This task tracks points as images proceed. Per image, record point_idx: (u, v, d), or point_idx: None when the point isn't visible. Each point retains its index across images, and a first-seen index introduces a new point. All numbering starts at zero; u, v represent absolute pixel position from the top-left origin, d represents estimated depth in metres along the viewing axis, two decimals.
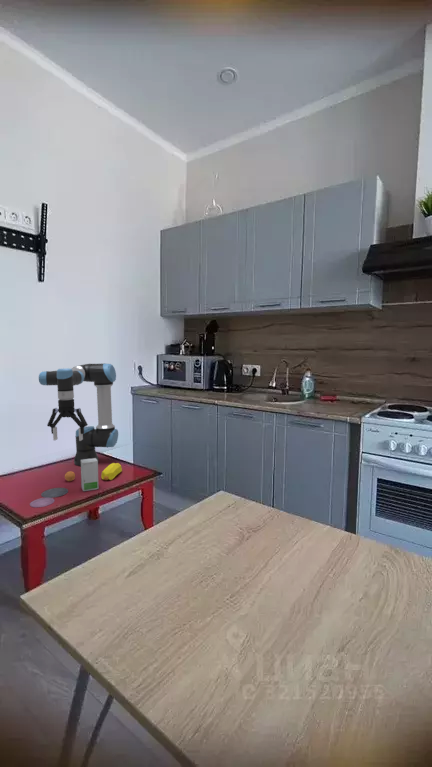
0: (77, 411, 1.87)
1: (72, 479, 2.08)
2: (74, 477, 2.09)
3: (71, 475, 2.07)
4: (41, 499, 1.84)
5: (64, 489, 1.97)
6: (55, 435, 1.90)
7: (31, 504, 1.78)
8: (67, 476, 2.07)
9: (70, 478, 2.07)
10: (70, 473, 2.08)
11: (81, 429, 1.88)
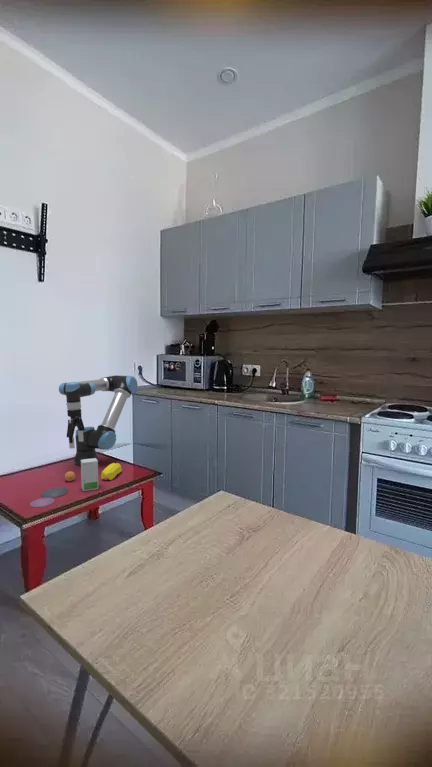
0: None
1: (72, 479, 2.08)
2: (74, 477, 2.09)
3: (71, 475, 2.07)
4: (41, 499, 1.84)
5: (64, 489, 1.97)
6: (79, 437, 2.22)
7: (31, 504, 1.78)
8: (67, 476, 2.07)
9: (70, 478, 2.07)
10: (70, 473, 2.08)
11: None
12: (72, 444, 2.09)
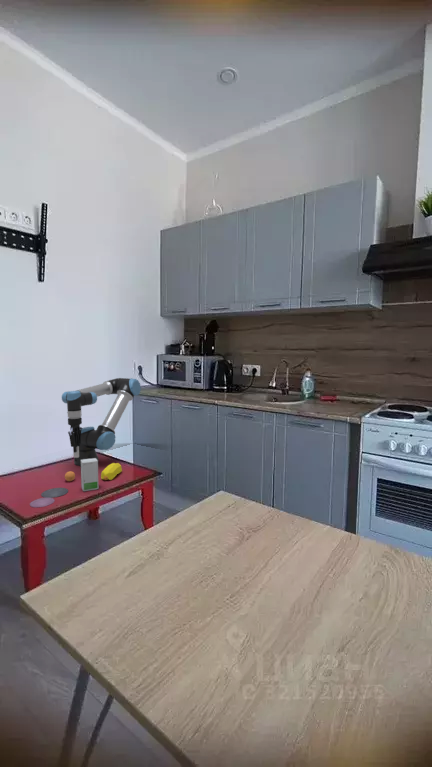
0: None
1: (72, 479, 2.08)
2: (74, 477, 2.09)
3: (71, 475, 2.07)
4: (41, 499, 1.84)
5: (64, 489, 1.97)
6: None
7: (31, 504, 1.78)
8: (67, 476, 2.07)
9: (70, 478, 2.07)
10: (70, 473, 2.08)
11: None
12: (76, 453, 2.17)
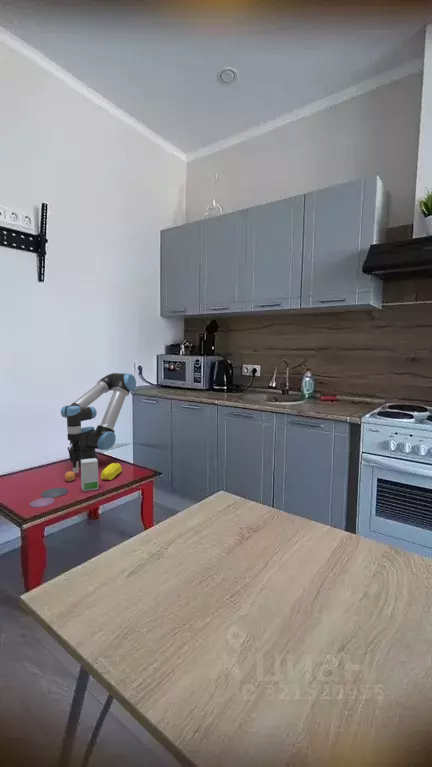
0: None
1: (72, 479, 2.08)
2: (74, 477, 2.09)
3: (71, 475, 2.07)
4: (41, 499, 1.84)
5: (64, 489, 1.97)
6: None
7: (31, 504, 1.78)
8: (67, 476, 2.07)
9: (70, 478, 2.07)
10: (70, 473, 2.08)
11: None
12: (75, 469, 2.16)
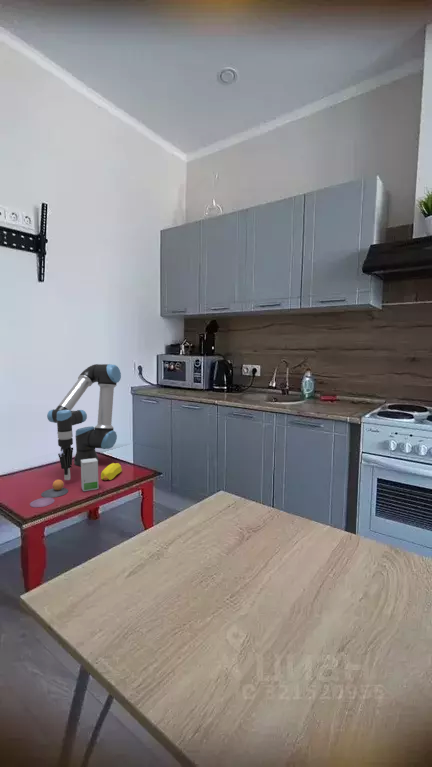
0: None
1: (60, 483, 1.95)
2: (62, 485, 1.96)
3: (62, 481, 1.97)
4: (41, 499, 1.84)
5: (64, 489, 1.97)
6: None
7: (31, 504, 1.78)
8: None
9: (60, 481, 1.96)
10: None
11: None
12: (67, 476, 2.05)
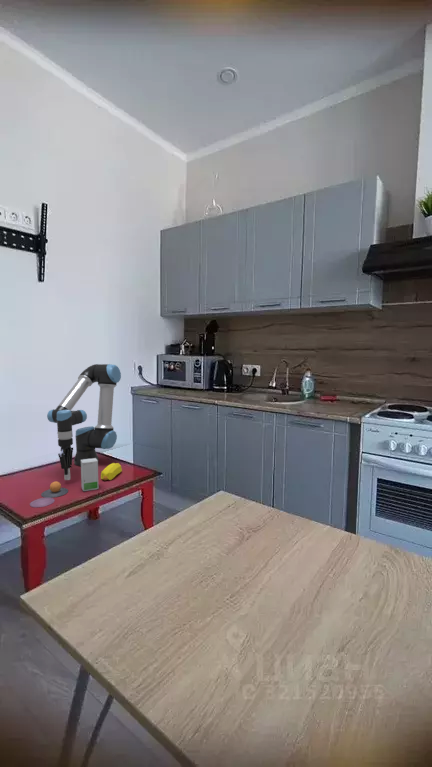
0: None
1: (57, 489, 1.92)
2: (59, 488, 1.93)
3: (57, 484, 1.93)
4: (41, 499, 1.84)
5: (64, 489, 1.97)
6: None
7: (31, 504, 1.78)
8: (53, 484, 1.92)
9: (55, 486, 1.91)
10: (57, 482, 1.94)
11: None
12: (67, 476, 2.05)
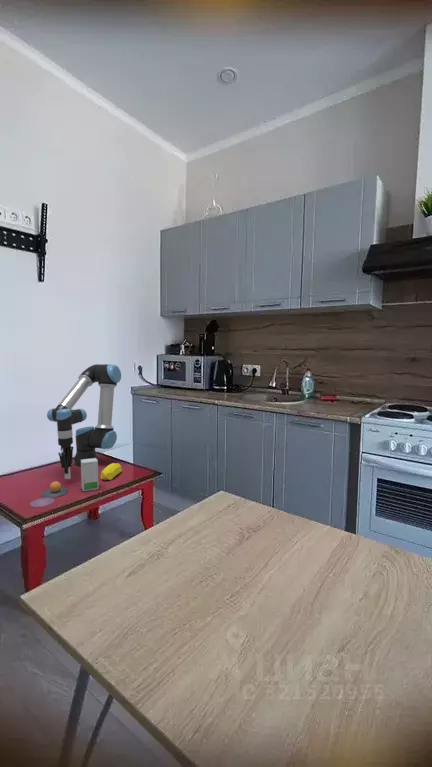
0: None
1: (57, 489, 1.92)
2: (59, 488, 1.93)
3: (57, 484, 1.93)
4: (41, 499, 1.84)
5: (64, 489, 1.97)
6: None
7: (31, 504, 1.78)
8: (53, 484, 1.92)
9: (55, 486, 1.91)
10: (57, 482, 1.94)
11: None
12: (67, 475, 2.06)
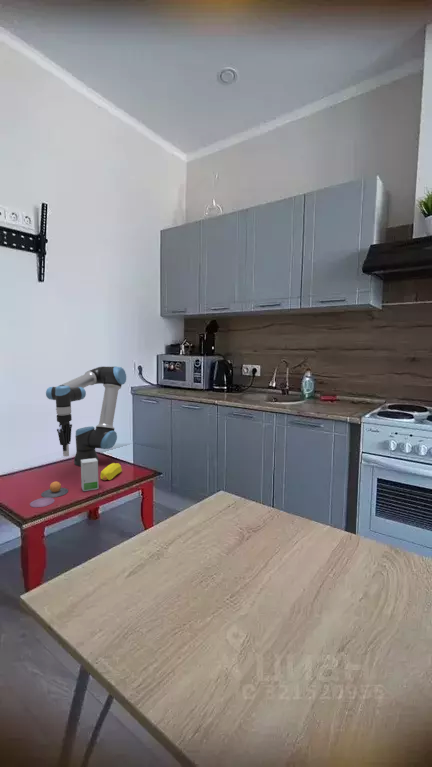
0: None
1: (57, 489, 1.92)
2: (59, 488, 1.93)
3: (57, 484, 1.93)
4: (41, 499, 1.84)
5: (64, 489, 1.97)
6: None
7: (31, 504, 1.78)
8: (53, 484, 1.92)
9: (55, 486, 1.91)
10: (57, 482, 1.94)
11: None
12: (66, 452, 2.04)
